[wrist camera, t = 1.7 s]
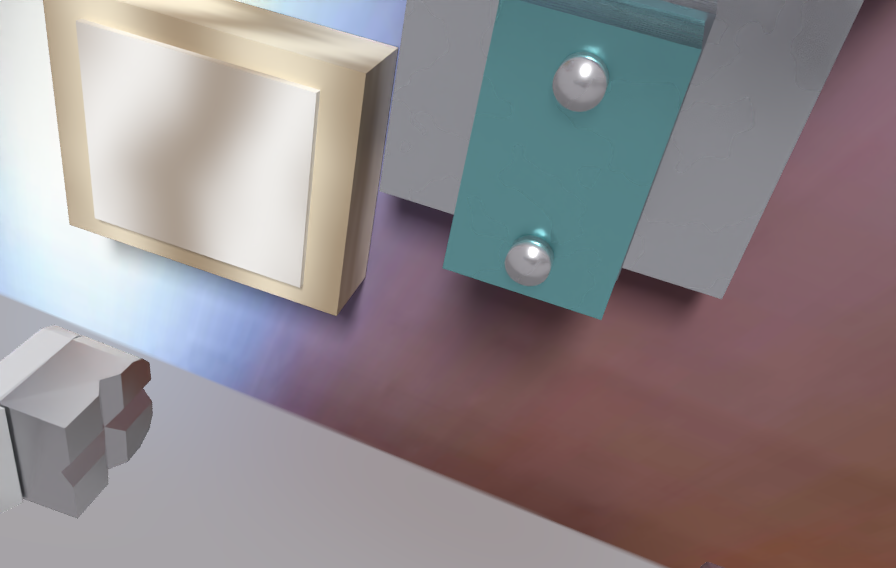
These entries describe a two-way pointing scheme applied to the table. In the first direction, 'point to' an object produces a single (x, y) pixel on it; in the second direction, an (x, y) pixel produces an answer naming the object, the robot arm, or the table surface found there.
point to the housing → (571, 141)
